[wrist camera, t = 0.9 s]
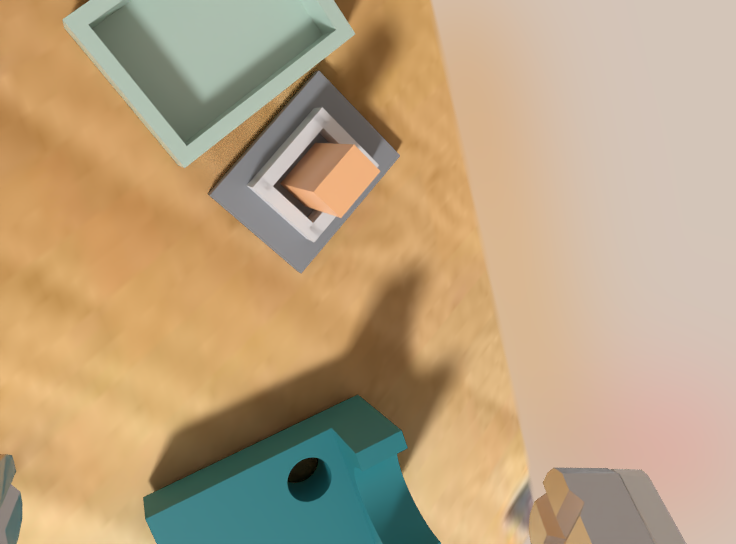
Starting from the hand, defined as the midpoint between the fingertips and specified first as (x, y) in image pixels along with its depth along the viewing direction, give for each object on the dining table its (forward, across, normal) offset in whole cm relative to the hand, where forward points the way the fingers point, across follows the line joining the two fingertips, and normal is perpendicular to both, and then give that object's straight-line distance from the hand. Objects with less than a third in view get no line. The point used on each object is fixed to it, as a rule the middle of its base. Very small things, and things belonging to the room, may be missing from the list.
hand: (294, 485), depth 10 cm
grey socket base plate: (+40, -2, +13) cm, 42 cm away
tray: (+42, +5, +4) cm, 42 cm away
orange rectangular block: (+39, -2, +13) cm, 41 cm away
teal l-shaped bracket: (+29, -2, +37) cm, 48 cm away
